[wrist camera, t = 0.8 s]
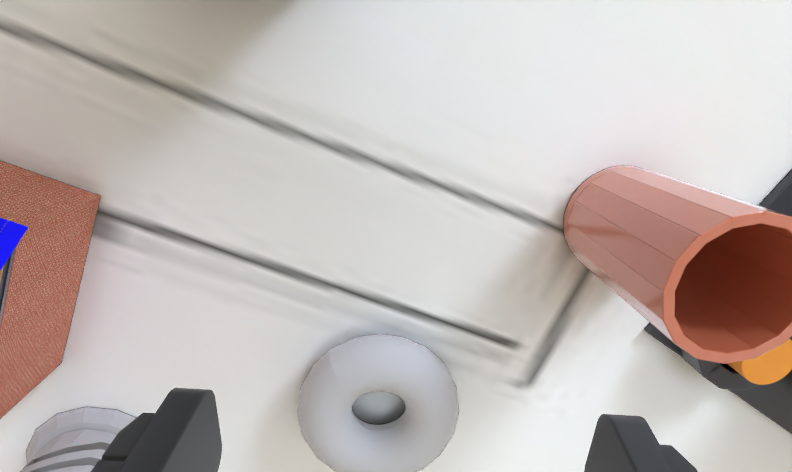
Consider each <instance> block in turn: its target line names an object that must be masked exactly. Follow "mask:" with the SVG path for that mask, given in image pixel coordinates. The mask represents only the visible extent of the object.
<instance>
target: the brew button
mask: <svg viewBox="0 0 792 472" xmlns="http://www.w3.org/2000/svg"><path fill="white" fill-rule="evenodd" d="M727 364H728V365H729V366H731V367H732V368H733V369H734V370H736V371H737V372H738V373H739V374H741V375H742V376H743V377H744V378H746V379H747V380H748V381H750V382H752V383H754V384H759V385H766V384H771V383H774V382H776V381H779V380H780V379H782V378H783V377H785V376H786V375H787V374H788V373H789V372H790V371H791V370H792V340H790V339H788V340H787V341H786V342H785V343H783V344H782V345H780V346H778V347H776V348H774V349H772V350H770V351H769V352H767V353H765V354H763V355H761V356H759V357H757V358H754V359H750V360H744V361H739V362H733V363H727Z"/></svg>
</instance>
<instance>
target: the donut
mask: <svg viewBox="0 0 792 472" xmlns="http://www.w3.org/2000/svg"><path fill="white" fill-rule="evenodd" d="M377 391H382V392H390V393H392V394H395V395H397V396H399V397H400V398H401V399H402V400H403V401H404V403H405V407H406V408H405V411H404V413H403V414H402V416H400V417H399V418H398V419H397V420H395V421H393V422H390V423H388V424H382V425H374V424H368V423H366V422H363V421H361V420H359V419H358V418H357V417H356V416H355V415H354V413H353V411H352V406H353V404H354V402H355V401H356V400H357V399H358V398H359V397H361V396H363V395H365V394H367V393H371V392H377ZM458 415H459V404H458V396H457V388H456V385H455V383H454V381H453V379H452V377H451V376H450V374H449V372H448V370H447V368H446V366H445V365H444V363H443V362H442V361H441V360H440V359H439V358H438V357H437V356H435V355H434V354H433V353H432V352H431V351H430V350H429V349H428V348H427V347H424V346H422V345H420V344H418V343H415V342H413V341H411V340H409V339H406V338H404V337H399V336H391V335H383V334H375V335H369V336H362V337H355V338H353V339H351V340H349V341H346V342H344V343H342V344H340V345H338V346H336V347H334V348H331V349H330V350H329V351H328V352H327V353H326V354H325V355H324V356H322V357H321V358H320V359H319V360H318V361H317V362H316V363H315V364H314V365H313V367H312V368H311V370H310V372H309V374H308V376H307V378H306V379H305V381H304V383H303V385H302V387H301V389H300V397H299V404H298V419H299V423H300V427H301V431H302V435H303V437H304V439H305V441H306V442H307V444H308V445H309V447H310V448H311V449H312V451H313V452H314V454H315V455H316V457H317V458H318V459H319V460H321V461H322V462H323V463H325V464H326V465H327V466H329V467H330V468H331V469H333V470H334V471H336V472H417V471H419V470H422V469H424V468H425V467H426V466H427V465H428V464H430V463H431V462H432V461H433V460H435V459H436V458H437V457H438V456H440V454H441V453H442V451H443V450H444V448H445V447H446V445H447V444H448V442H449V441H450V439H451V438H452V436H453V434H454V431H455V427H456V423H457V419H458Z"/></svg>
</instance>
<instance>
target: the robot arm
mask: <svg viewBox="0 0 792 472" xmlns="http://www.w3.org/2000/svg"><path fill="white" fill-rule="evenodd" d="M221 451H222V443H221V435H220V428H219V422H218V415H217V408H216V401H215V395H214V393H213V391H212V390H202V389H185V388H174V389H173V390H171V391H170V392H169V394H168V395H167V397H166V398H165V400H164V401H163V403H162V404H161V406H160V407H159V409H158V410H157V412H156V414H154V413H142V414H141V415H140V416H138V417H137V418H136V419H135V420H133V421H132V422H131V423H130V424H128V425H127V426H126V427H125V428H123V429H122V430H121V431H120V432H119V433H118V434H117V435H116V437H115V438H114V440H113V441H112V442H111V444H110V445H109V447H108V448H107V449H106V451H105V452H104V454H103V455H102V459H101V461H100V460H99V461H98V462H97V464H96V465H95V466H94V468H93V469H92V471H91V472H217V471H218V468H219V464H220V459H221ZM584 472H697V470H696V468H695V467H694V466H692V465H691V464H690V463H689V462H688V461H687V460H686V459H685V458H684V457H683V456H682V455H681V454H680V453H679V452H678V451H677V450H675V449H674V448H673V447H672V446H670V445H659V443H658V441H657V439H656V438H655V436H654V434H653V432H652V430H651V429H650V427H649V425H648V424H647V422H646V421H645V420H644V419H643V418H642V417H640V416H625V415H608V414H603V415H601V416H600V417H599V419H598V422H597V426H596V429H595V433H594V436H593V440H592V443H591V447H590V451H589V454H588V458H587V461H586V465H585V471H584Z"/></svg>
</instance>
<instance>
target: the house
mask: <svg viewBox="0 0 792 472" xmlns="http://www.w3.org/2000/svg"><path fill="white" fill-rule="evenodd" d="M100 197H101V196H100V195H97V194H94V193H91V192H88V191H85V190H82V189H80V188H77V187H74V186H71V185H68V184H65V183H62V182H60V181H57V180H54V179H51V178H48V177H45V176H42V175H39V174H37V173H34V172H31V171H28V170H25V169H22V168H19V167H17V166H14V165H11V164H8V163H5V162H2V161H0V419H1V418H2V417H3V416H4V415H5V414H6V413H7V412H8V411H10V410H11V409H12V408H13V407H14V406H15V405H16V404H17V403H18V402H19V401H20V400H22V399H23V398H24V397H25V396H26V395H27V394H28V393H29V392H30V391H31V390H32V389H34V388H35V387H36V386H37V385H38V384H39V383H40V382H41V381H42V380H43V379H44V378H46V377H47V376H48V375H49V374H50V373H51V372H52V371H53V370H54V369H55V368H56V367H58V366H59V365H60V364H61V363H62V359H63V354H64V350H65V346H66V342H67V337H68V333H69V329H70V325H71V320H72V316H73V312H74V308H75V303H76V299H77V295H78V291H79V286H80V282H81V278H82V274H83V269H84V265H85V261H86V257H87V252H88V248H89V244H90V240H91V235H92V231H93V227H94V223H95V218H96V214H97V210H98V206H99V201H100Z"/></svg>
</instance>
